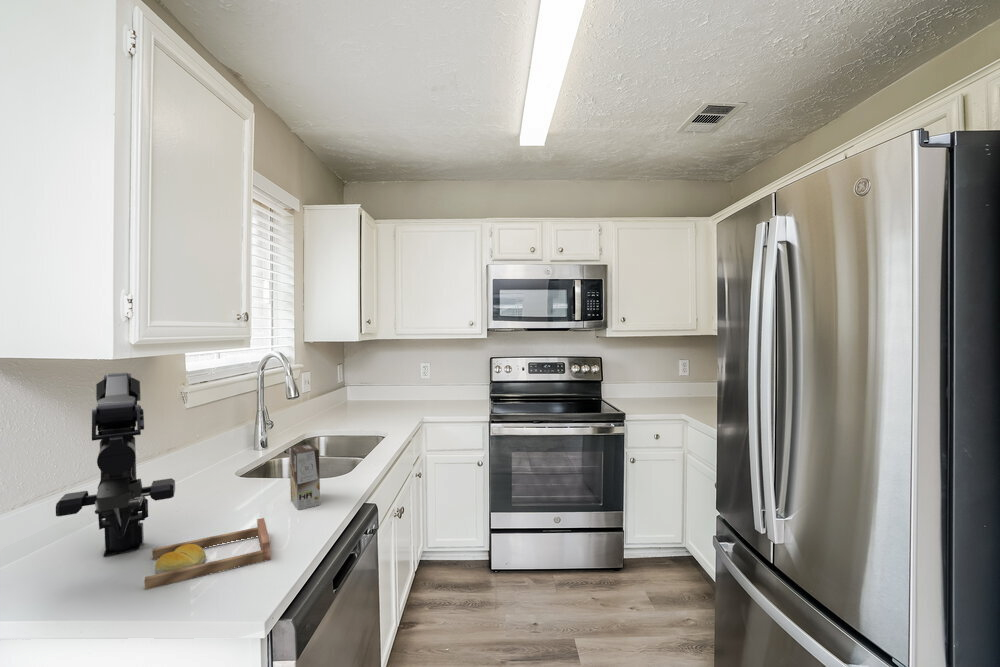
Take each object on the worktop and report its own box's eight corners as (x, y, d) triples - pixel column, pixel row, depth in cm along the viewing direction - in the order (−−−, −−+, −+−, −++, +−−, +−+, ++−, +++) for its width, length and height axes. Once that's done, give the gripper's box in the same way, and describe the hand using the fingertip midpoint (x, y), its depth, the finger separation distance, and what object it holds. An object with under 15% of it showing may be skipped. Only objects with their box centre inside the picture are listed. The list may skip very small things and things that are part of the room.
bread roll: (146, 573, 102) (146, 555, 102) (188, 554, 110) (187, 537, 110) (173, 581, 98) (172, 561, 98) (213, 560, 107) (213, 543, 107)
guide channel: (144, 589, 95) (144, 569, 95) (153, 557, 108) (152, 539, 108) (270, 559, 107) (270, 541, 106) (264, 533, 120) (264, 517, 120)
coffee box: (321, 505, 138) (320, 449, 138) (297, 510, 134) (296, 453, 134) (312, 495, 145) (310, 443, 145) (289, 500, 142) (288, 446, 141)
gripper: (45, 481, 87) (48, 566, 87) (170, 464, 97) (172, 541, 97) (62, 465, 97) (65, 542, 97) (174, 451, 106) (176, 521, 107)
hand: (121, 537), depth 99 cm, fingers closed
